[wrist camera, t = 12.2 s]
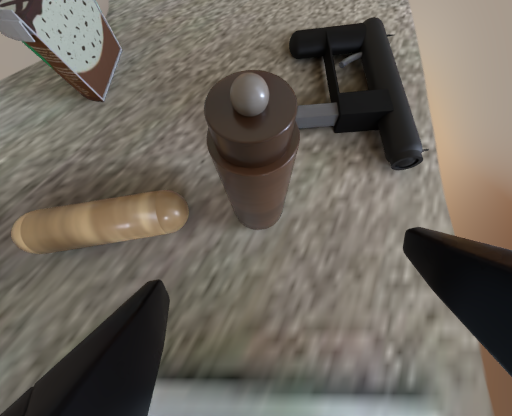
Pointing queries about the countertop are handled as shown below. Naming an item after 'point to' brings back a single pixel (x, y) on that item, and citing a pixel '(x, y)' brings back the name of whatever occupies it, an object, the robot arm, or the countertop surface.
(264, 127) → the pepper mill
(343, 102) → the door handle
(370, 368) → the countertop surface
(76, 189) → the countertop surface
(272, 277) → the countertop surface
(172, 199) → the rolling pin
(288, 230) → the countertop surface
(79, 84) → the food container
